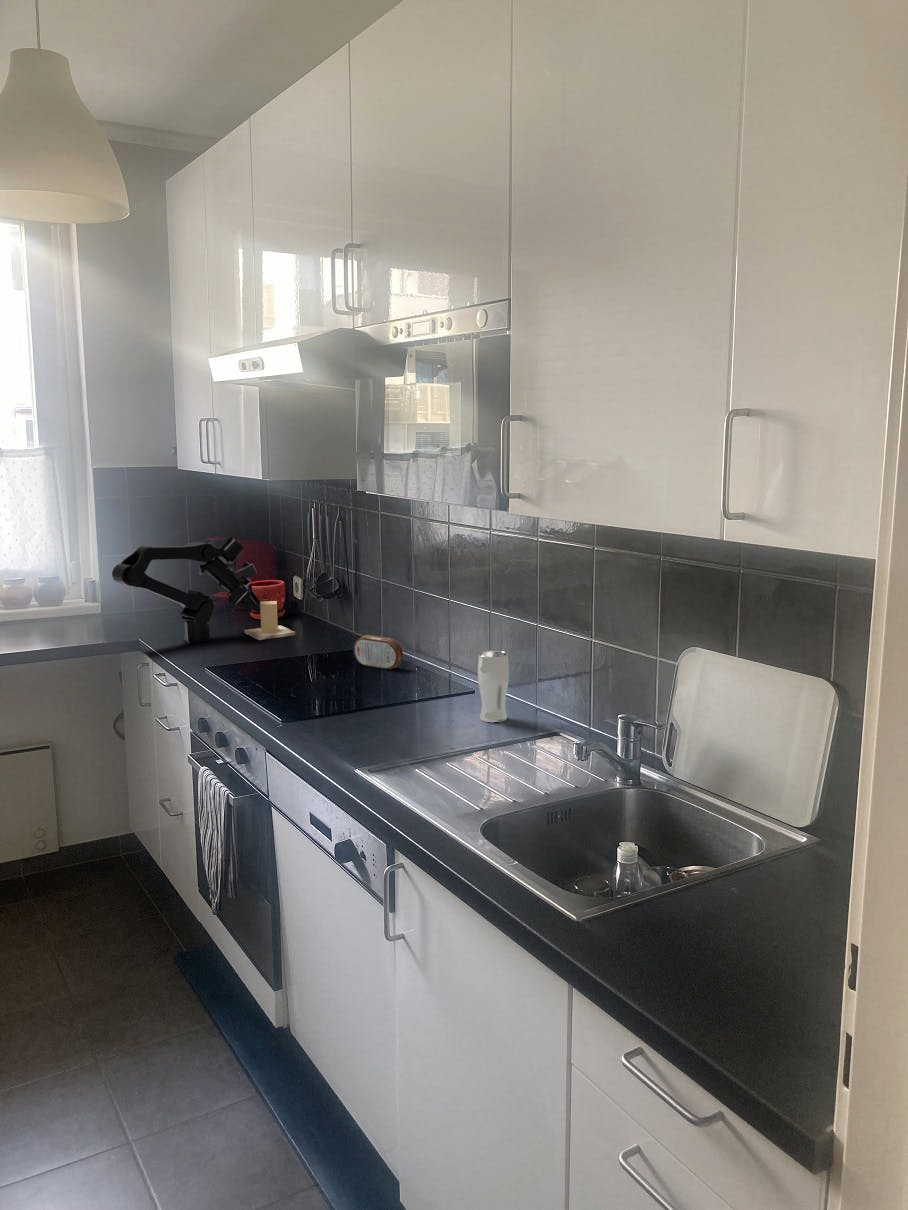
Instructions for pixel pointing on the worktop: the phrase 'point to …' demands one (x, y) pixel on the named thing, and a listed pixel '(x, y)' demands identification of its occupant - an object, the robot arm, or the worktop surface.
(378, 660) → the tin
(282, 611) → the plant pot
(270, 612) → the ochre block
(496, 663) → the beer glass
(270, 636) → the birch board
